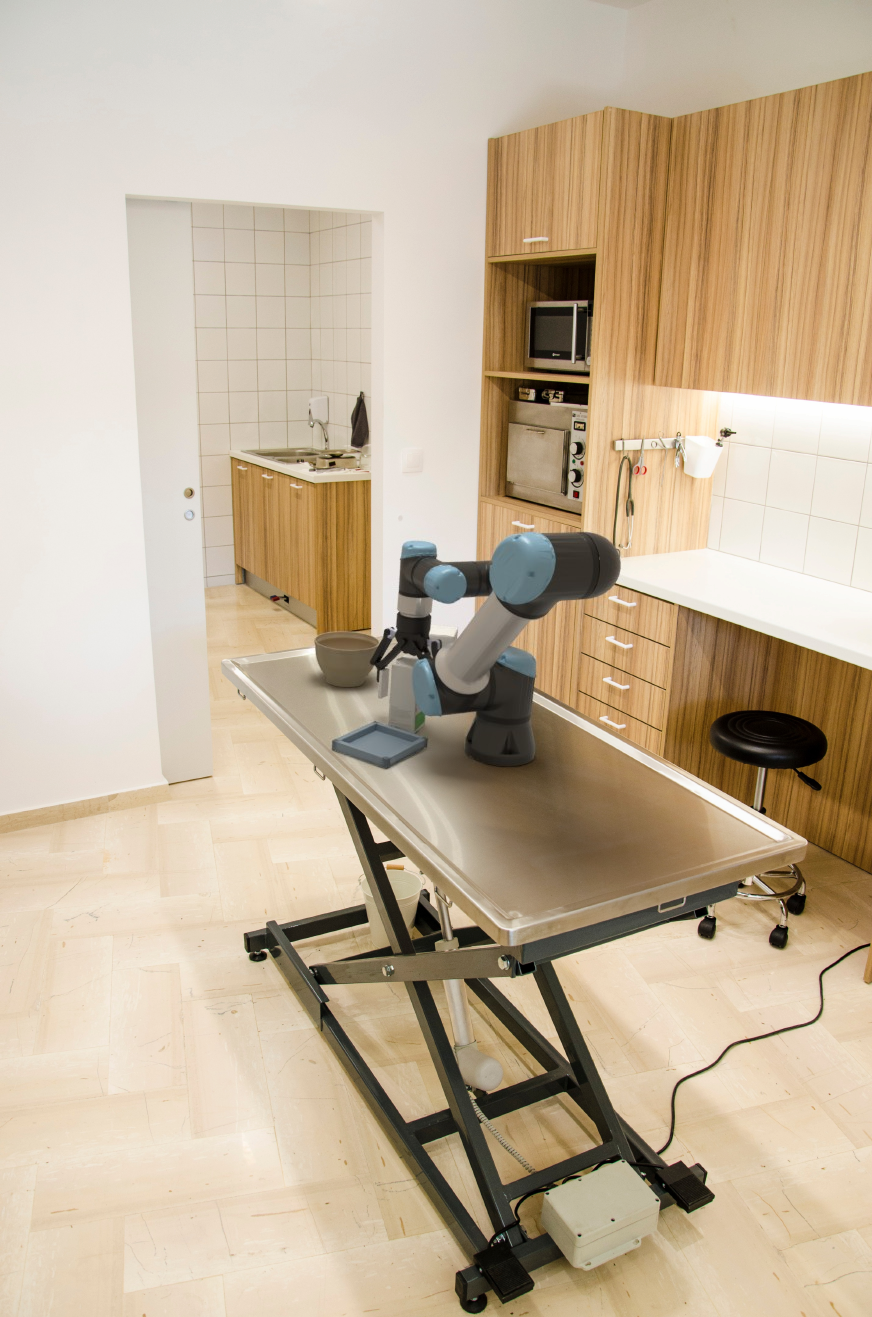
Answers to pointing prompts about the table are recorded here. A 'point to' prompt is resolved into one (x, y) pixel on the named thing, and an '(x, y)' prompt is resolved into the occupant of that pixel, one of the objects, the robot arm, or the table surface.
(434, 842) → the table surface
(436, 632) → the supplement box
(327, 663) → the planter bowl
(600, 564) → the robot arm
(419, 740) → the tray
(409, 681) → the skincare box
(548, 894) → the table surface
